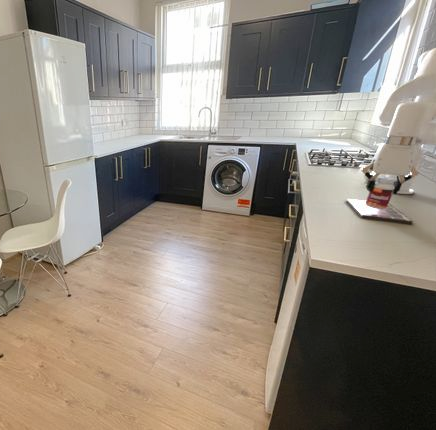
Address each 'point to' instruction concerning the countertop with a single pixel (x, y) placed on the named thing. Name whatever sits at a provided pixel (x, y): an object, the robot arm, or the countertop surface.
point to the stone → (370, 173)
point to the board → (378, 212)
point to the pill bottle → (381, 193)
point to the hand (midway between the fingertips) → (381, 191)
